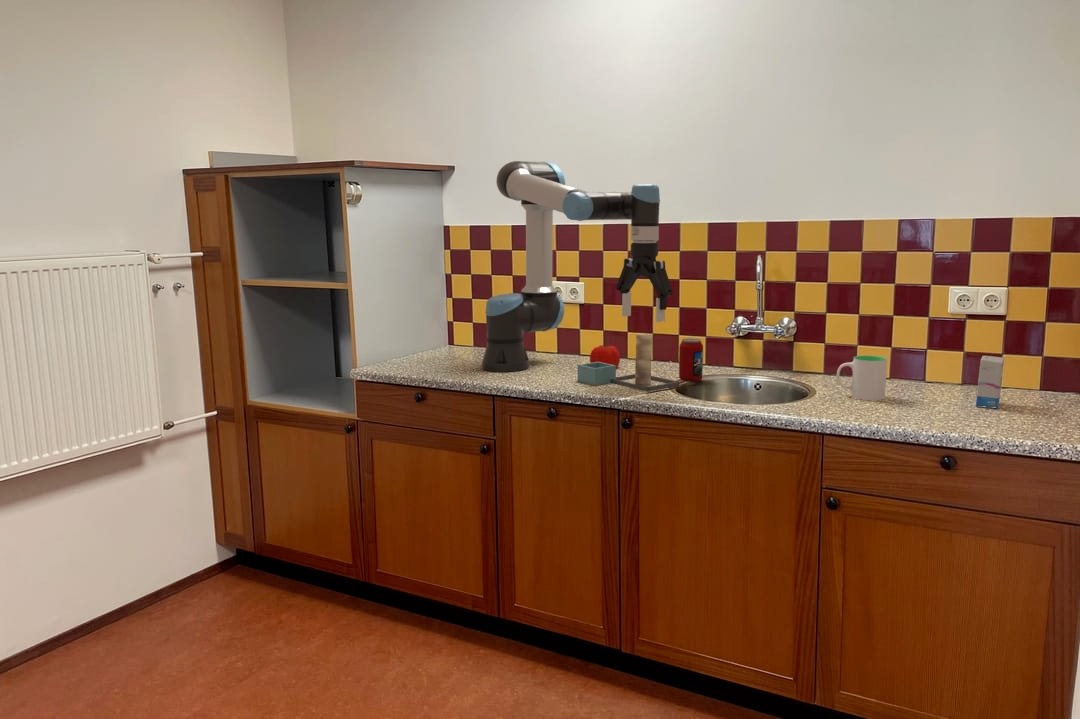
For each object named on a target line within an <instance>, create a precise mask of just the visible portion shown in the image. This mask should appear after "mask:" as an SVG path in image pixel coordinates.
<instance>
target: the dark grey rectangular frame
mask: <svg viewBox="0 0 1080 719" xmlns="http://www.w3.org/2000/svg"><path fill="white" fill-rule="evenodd" d="M631 379H632V380H633V379H635V373H632V374H628V375H627V374H625V375H622V376H616V380H615V379H611V384H616V385H618V386H619V385H620V386H624V387H629V388H633V389H637V390H640V391H645V394H646V395H650V394H653V393H654V394H655V393H659V392H665V391H669V390H670V391H671V390H676V389H679V388H680V387H679V386H680V381H678V380H672V379H668V378H663V377H659V376H654V375H651V381H655V382H660V383H662V384H657V385H656V384H655V385H652V386H647V385H637V384H635V383H632V382H628V381H626V380H631Z"/></svg>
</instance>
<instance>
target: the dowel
mask: <svg viewBox="0 0 1080 719" xmlns="http://www.w3.org/2000/svg"><path fill="white" fill-rule="evenodd" d="M652 345H653V335H652V334H650V333H637V334H635V369H634V371H635V372H634V374H635V378H634V384H637V385H641V386H649V385H651V383H652V380H651V376H652V354H653V353H652V347H653V346H652Z"/></svg>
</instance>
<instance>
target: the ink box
mask: <svg viewBox="0 0 1080 719" xmlns="http://www.w3.org/2000/svg"><path fill="white" fill-rule="evenodd" d="M1004 363H1005V358H1004V357H1001V356H1000V357H999V356H992V355H982V356H981V359H980V365H979V373H978V381H977V390H976V401H975V407H976V406H986V407H996V408H997V407H998V408H999V404H1000V399H1001V391H1002V383H1003V374H1004V365H1005V364H1004ZM998 408H997V409H998Z"/></svg>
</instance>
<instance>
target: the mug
mask: <svg viewBox="0 0 1080 719" xmlns="http://www.w3.org/2000/svg"><path fill="white" fill-rule="evenodd" d="M844 367H849V368H851V371H852V378H851V382H850V383H849V384H847V385H846V384H843V383H842V382H841V379H840V372H841V370H842V369H843V368H844ZM887 369H888V358H886V357H883V356H877V355H856V356H853V360H852V361H851V362H844V363H842V364H840V365H839V367H838V368H837V371H836V381H837V382H838V384H839V385H840V387H842V388H844V389H847V390H850V391H851V398H852V397H854V398H853V399H855V398H857V399H856V400H858V399H863V400H862V401H865V400H880V401H883V400H882V399H884V398H885V399H886V388H887V387H886V383H887ZM885 399H884V400H885Z"/></svg>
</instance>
